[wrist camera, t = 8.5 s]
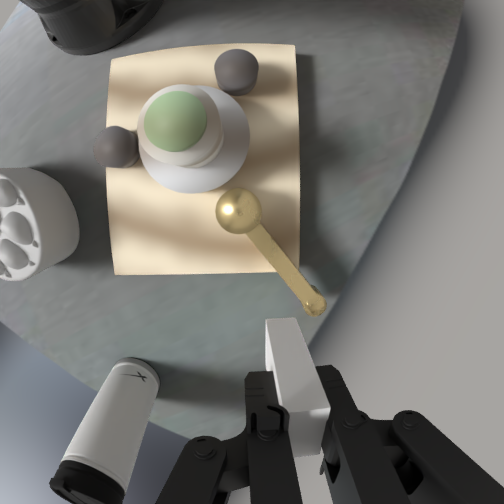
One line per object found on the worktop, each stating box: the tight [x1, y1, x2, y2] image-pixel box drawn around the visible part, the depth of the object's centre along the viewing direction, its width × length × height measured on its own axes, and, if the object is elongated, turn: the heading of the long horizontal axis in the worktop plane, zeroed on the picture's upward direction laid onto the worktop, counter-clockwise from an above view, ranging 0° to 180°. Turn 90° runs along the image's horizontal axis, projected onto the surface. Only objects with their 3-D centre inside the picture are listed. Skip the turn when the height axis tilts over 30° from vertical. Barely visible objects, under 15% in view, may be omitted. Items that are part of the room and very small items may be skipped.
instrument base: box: [94, 44, 300, 275], centre depth 21 cm, size 22×18×12 cm
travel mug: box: [49, 358, 160, 504], centre depth 22 cm, size 6×7×20 cm
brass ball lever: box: [215, 188, 327, 317], centre depth 25 cm, size 13×4×3 cm, turn 39°
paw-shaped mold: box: [0, 168, 80, 281], centre depth 23 cm, size 10×13×9 cm
